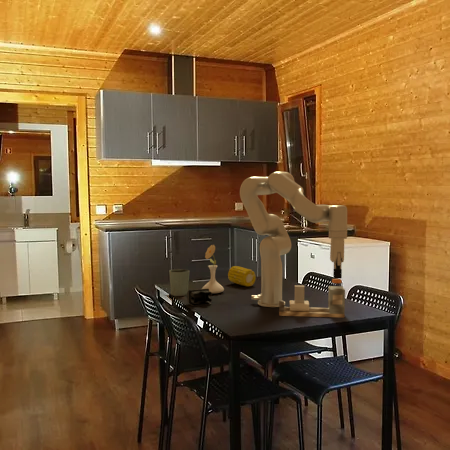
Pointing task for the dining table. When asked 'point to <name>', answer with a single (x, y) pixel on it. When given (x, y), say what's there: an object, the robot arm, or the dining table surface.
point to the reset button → (336, 281)
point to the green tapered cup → (179, 282)
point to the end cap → (199, 297)
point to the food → (241, 276)
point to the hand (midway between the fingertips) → (337, 278)
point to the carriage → (299, 300)
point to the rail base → (334, 308)
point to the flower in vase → (212, 273)
